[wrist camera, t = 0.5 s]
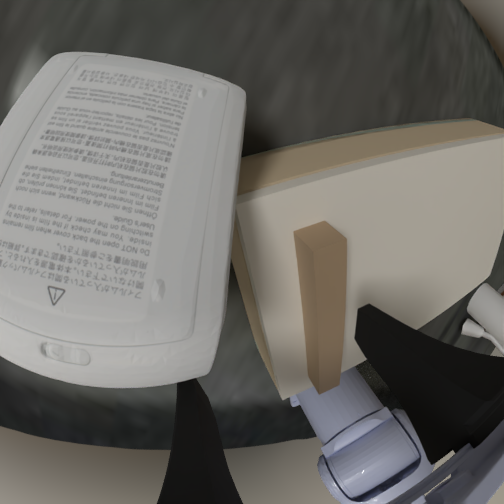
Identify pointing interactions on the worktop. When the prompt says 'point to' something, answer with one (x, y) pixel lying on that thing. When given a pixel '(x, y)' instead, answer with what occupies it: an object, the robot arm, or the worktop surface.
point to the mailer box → (328, 157)
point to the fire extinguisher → (486, 316)
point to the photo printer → (118, 220)
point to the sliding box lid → (368, 250)
